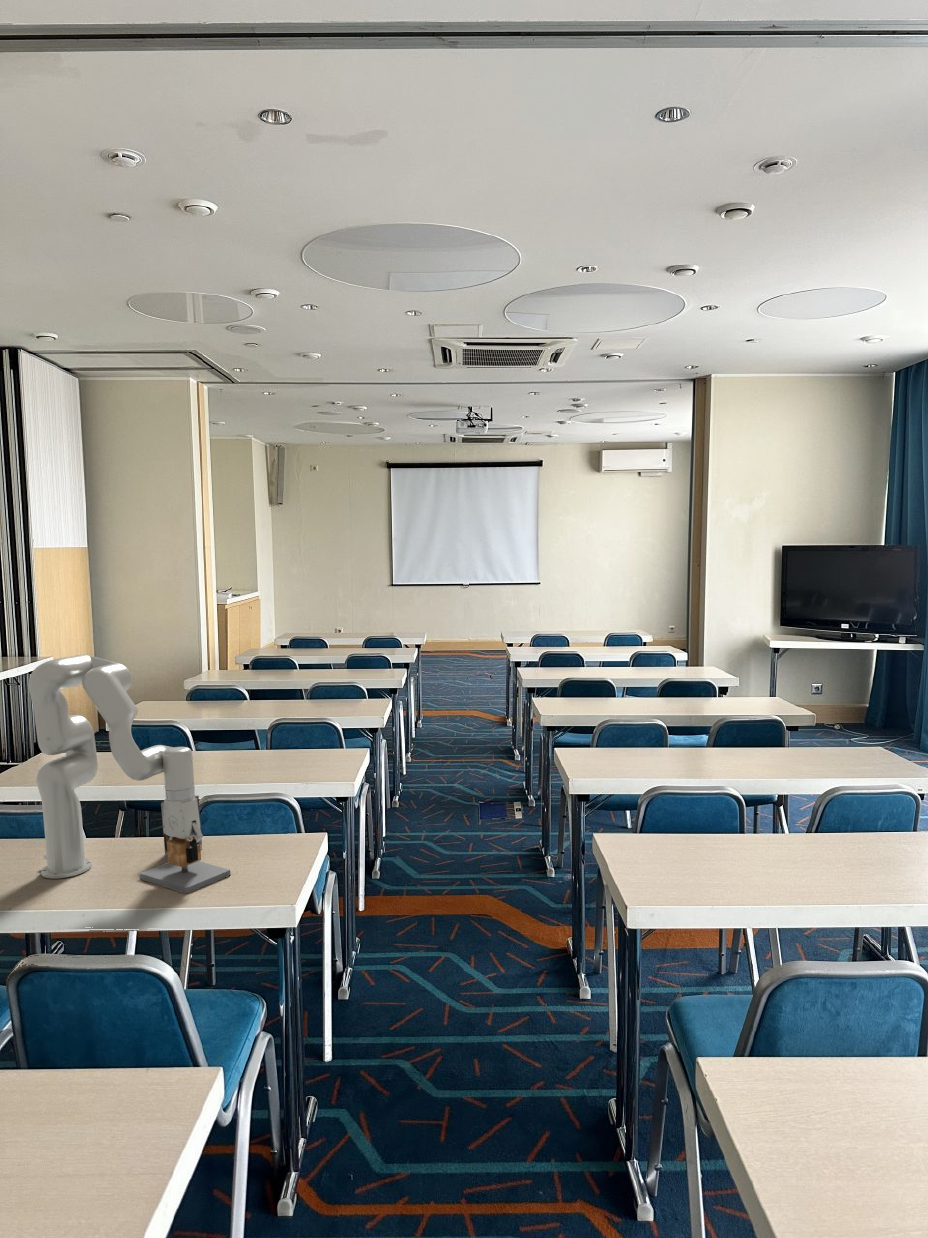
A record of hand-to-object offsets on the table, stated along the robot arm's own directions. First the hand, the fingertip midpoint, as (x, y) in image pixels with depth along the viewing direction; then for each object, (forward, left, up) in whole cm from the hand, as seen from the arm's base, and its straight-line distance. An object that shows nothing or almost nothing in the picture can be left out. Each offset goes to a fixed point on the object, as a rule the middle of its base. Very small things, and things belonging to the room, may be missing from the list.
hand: (184, 858), depth 222 cm
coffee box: (-17, +12, -5) cm, 21 cm away
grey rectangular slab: (0, 0, -5) cm, 5 cm away
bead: (0, 0, -1) cm, 1 cm away
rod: (0, 0, -4) cm, 4 cm away
